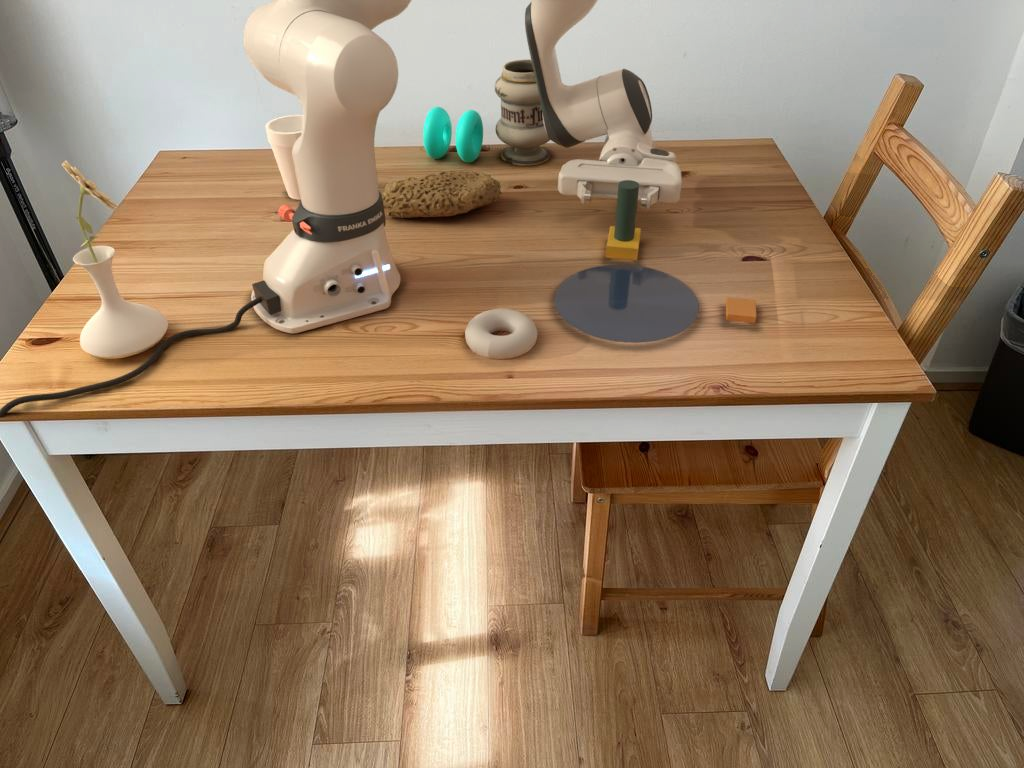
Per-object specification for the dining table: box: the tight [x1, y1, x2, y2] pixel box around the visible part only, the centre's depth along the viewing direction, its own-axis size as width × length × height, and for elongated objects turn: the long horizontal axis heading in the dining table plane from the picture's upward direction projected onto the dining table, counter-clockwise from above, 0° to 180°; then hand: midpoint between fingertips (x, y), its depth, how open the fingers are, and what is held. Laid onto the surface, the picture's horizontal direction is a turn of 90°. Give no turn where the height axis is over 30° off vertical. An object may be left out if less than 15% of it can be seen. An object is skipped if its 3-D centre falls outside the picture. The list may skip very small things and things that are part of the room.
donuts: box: [422, 106, 484, 163], centre depth 154 cm, size 10×10×10 cm
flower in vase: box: [61, 160, 169, 360], centre depth 100 cm, size 13×11×25 cm
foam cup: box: [264, 114, 303, 201], centre depth 141 cm, size 10×9×13 cm
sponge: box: [381, 170, 502, 219], centre depth 136 cm, size 13×8×20 cm
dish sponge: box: [605, 180, 642, 261], centre depth 122 cm, size 7×5×12 cm
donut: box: [464, 308, 539, 360], centre depth 105 cm, size 10×4×10 cm
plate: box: [553, 264, 700, 344], centre depth 113 cm, size 21×21×1 cm
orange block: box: [725, 297, 757, 324], centre depth 110 cm, size 4×4×2 cm
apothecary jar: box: [494, 58, 551, 167], centre depth 152 cm, size 12×12×18 cm
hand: (615, 202), depth 122 cm, fingers open, 8 cm apart
